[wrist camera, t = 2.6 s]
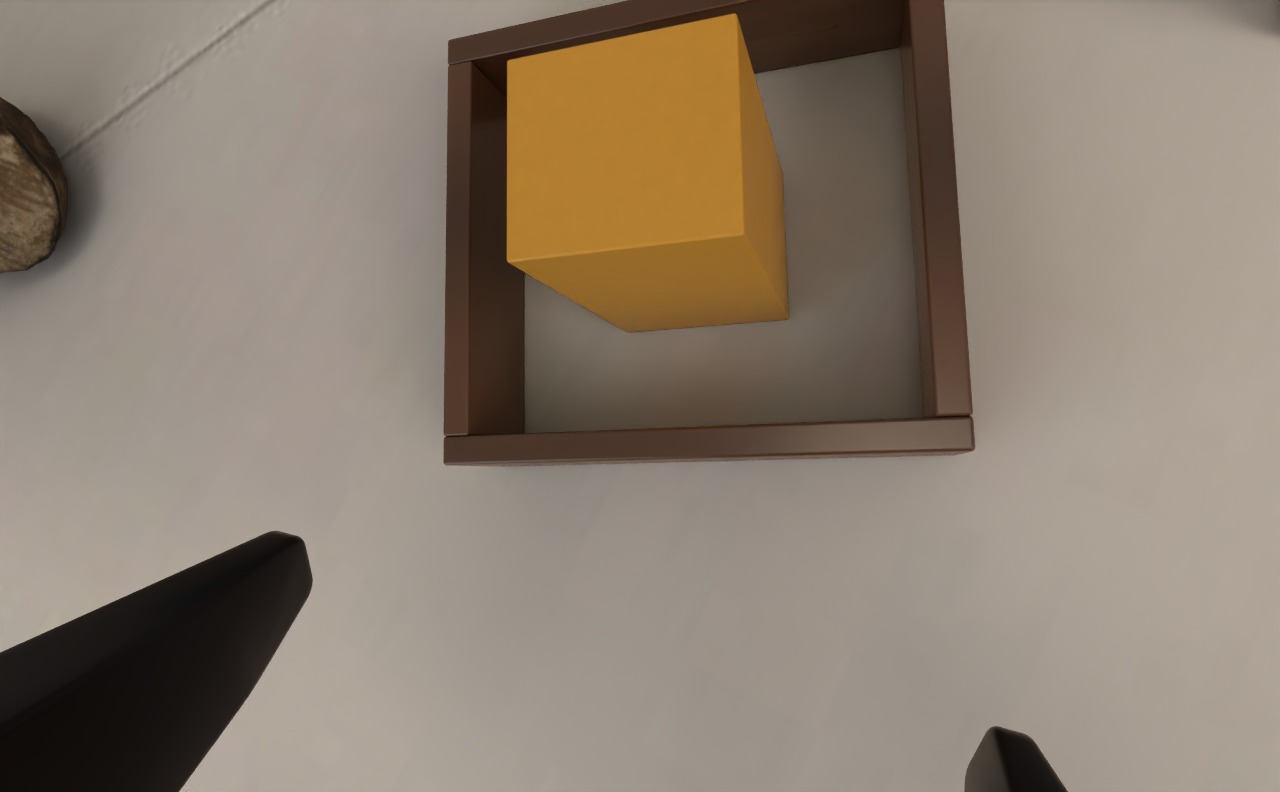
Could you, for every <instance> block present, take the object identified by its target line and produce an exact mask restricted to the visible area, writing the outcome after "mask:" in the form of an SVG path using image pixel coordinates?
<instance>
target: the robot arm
mask: <svg viewBox="0 0 1280 792" xmlns="http://www.w3.org/2000/svg"><path fill="white" fill-rule="evenodd" d="M312 581H313V579H312V573H311V568H310V564H309V559H308V555H307V550H306V546H305V543H304V541H303V540H302V539H301V538H300V537H298V536H295V535H291V534H288V533H284V532H280V531H271V532H268V533H265V534H263V535H261V536H259V537H256V538H254V539H252V540H250V541H247V542H245V543H243V544H241V545H239V546H236V547H234V548H232V549H230V550H227V551H225V552H223V553H221V554H219V555H216V556H214V557H212V558H210V559H207V560H205V561H203V562H201V563H199V564H196V565H194V566H192V567H190V568H187V569H185V570H183V571H181V572H179V573H176V574H174V575H172V576H170V577H167V578H165V579H163V580H161V581H159V582H156V583H154V584H152V585H150V586H147V587H145V588H143V589H141V590H139V591H136V592H134V593H132V594H130V595H127V596H125V597H123V598H121V599H119V600H116V601H114V602H112V603H110V604H107V605H105V606H103V607H101V608H99V609H96V610H94V611H92V612H90V613H87V614H85V615H83V616H81V617H79V618H76V619H74V620H72V621H70V622H67V623H65V624H63V625H61V626H59V627H56V628H54V629H52V630H50V631H47V632H45V633H43V634H41V635H39V636H36V637H34V638H32V639H30V640H27V641H25V642H23V643H21V644H18V645H16V646H14V647H12V648H10V649H7V650H5V651H3V652H1V653H0V792H179V791H180V790H181V788H182V787H183V786H184V784H185V783H186V781H187V780H188V779H189V777H190V776H191V775H192V773H193V772H194V771H195V769H196V768H197V766H198V765H199V764H200V762H201V761H202V760H203V758H204V757H205V755H206V754H207V753H208V751H209V750H210V749H211V747H212V746H213V745H214V743H215V742H216V740H217V739H218V738H219V736H220V735H221V734H222V732H223V731H224V730H225V728H226V727H227V725H228V724H229V723H230V721H231V720H232V719H233V717H234V716H235V714H236V713H237V712H238V710H239V709H240V707H241V706H242V705H243V703H244V702H245V700H246V699H247V697H248V696H249V695H250V693H251V691H252V690H253V688H254V687H255V685H256V684H257V682H258V680H259V679H260V677H261V675H262V674H263V672H264V670H265V669H266V667H267V665H268V664H269V662H270V660H271V659H272V657H273V655H274V654H275V652H276V650H277V649H278V647H279V645H280V644H281V642H282V640H283V638H284V637H285V635H286V633H287V632H288V630H289V628H290V627H291V625H292V623H293V622H294V620H295V618H296V617H297V615H298V613H299V612H300V610H301V608H302V606H303V605H304V603H305V601H306V600H307V598H308V596H309V594H310V591H311V588H312ZM965 792H1068V791H1067V790H1066V788H1065V787H1064V785H1063V784H1062V782H1061V781H1060V779H1059V778H1058V776H1057V775H1056V773H1055V772H1054V770H1053V769H1052V767H1051V766H1050V764H1049V763H1048V761H1047V760H1046V758H1045V757H1044V755H1043V753H1042V752H1041V750H1040V749H1039V747H1038V746H1037V744H1036V743H1035V742H1034V741H1033V740H1032V739H1031V738H1030V737H1029V736H1028V735H1026V734H1023V733H1020V732H1016V731H1013V730H1009V729H1005V728H1002V727H997V726H994V727H991V728H990V729H989V730H988V731H987V732H986V734H985V736H984V738H983V739H982V741H981V743H980V745H979V747H978V749H977V750H976V752H975V754H974V756H973V758H972V760H971V761H970V763H969V766H968V768H967V772H966V777H965Z"/></svg>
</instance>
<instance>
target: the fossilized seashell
mask: <svg viewBox="0 0 1280 792" xmlns="http://www.w3.org/2000/svg"><path fill="white" fill-rule="evenodd" d="M67 195H68V189H67V184H66V179H65V176H64V173H63V170H62V166H61V163H60V161H59V159H58V157H57V154H56V152H55V150H54V148H53V147H52V146H51V145H50V143H49V142H48V140H47V139H46V137H45V135H44V134H43V133H42V132H41V131H40V130H39V129H38V128H37V126H36V125H35V123H34V122H33V121H32V120H31V119H30V118H29V117H28V116H27V115H25V114H24V113H23V112H22V111H20V110H19V109H18V108H16V107H15V106H14V105H12V104H11V103H9V102H7V101H6V100H4V99H2V98H1V97H0V273H3V272H14V271H24V270H28V269H30V268H31V267H33V266H34V265H36V264H37V263H40V262H42V261H44V260H45V259H47V258H48V257H49V256H50V255H51V254H52V252H53V251H54V250H55V247H56V244H57V241H58V240H59V238H60V237H61V235H62V231H63V228H64V225H65V219H66V205H67Z"/></svg>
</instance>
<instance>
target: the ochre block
mask: <svg viewBox="0 0 1280 792" xmlns="http://www.w3.org/2000/svg"><path fill="white" fill-rule="evenodd" d="M507 262H508V263H510V264H511V265H513V266H515V267H517V268H518V269H520V270H522V271H523V272H525V273H527V274H529V275H530V276H532V277H534V278H535V279H537V280H539V281H540V282H542V283H544V284H546V285H547V286H549V287H551V288H552V289H554V290H556V291H558V292H559V293H561V294H563V295H564V296H566V297H568V298H569V299H571V300H573V301H575V302H576V303H578V304H580V305H581V306H583V307H585V308H587V309H588V310H590V311H592V312H593V313H595V314H597V315H598V316H600V317H602V318H604V319H605V320H607V321H609V322H610V323H612V324H614V325H615V326H617V327H619V328H621V329H622V330H624V331H626V332H641V331H653V330H666V329H678V328H690V327H703V326H715V325H728V324H740V323H752V322H765V321H777V320H787V319H788V318H789V308H788V284H787V261H786V237H785V213H784V189H783V172H782V169H781V165H780V162H779V159H778V155H777V152H776V148H775V145H774V141H773V138H772V134H771V131H770V127H769V124H768V120H767V117H766V114H765V110H764V107H763V103H762V100H761V96H760V93H759V89H758V86H757V82H756V79H755V75H754V72H753V69H752V65H751V62H750V58H749V55H748V51H747V48H746V44H745V41H744V37H743V34H742V31H741V27H740V24H739V20H738V17H737V15H736V14H734V13H733V14H728V15H724V16H719V17H714V18H709V19H704V20H699V21H694V22H690V23H685V24H680V25H675V26H670V27H665V28H661V29H656V30H651V31H646V32H641V33H636V34H632V35H627V36H622V37H617V38H612V39H607V40H603V41H598V42H593V43H588V44H583V45H578V46H574V47H569V48H564V49H559V50H554V51H549V52H545V53H540V54H535V55H530V56H525V57H520V58H516V59H511V60H508V62H507Z"/></svg>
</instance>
